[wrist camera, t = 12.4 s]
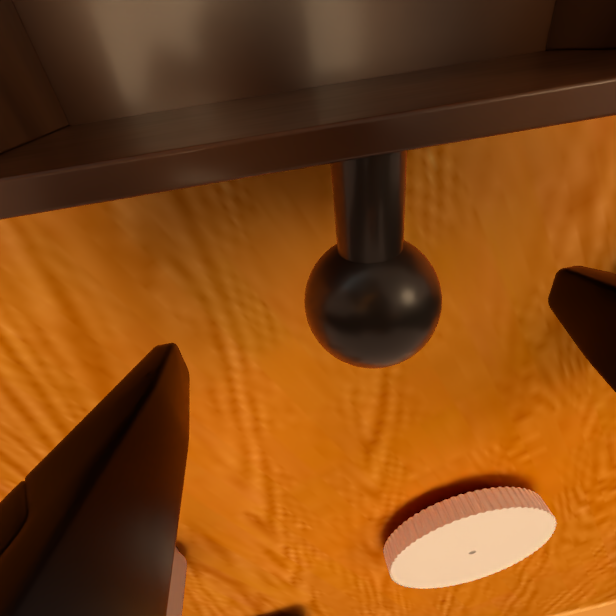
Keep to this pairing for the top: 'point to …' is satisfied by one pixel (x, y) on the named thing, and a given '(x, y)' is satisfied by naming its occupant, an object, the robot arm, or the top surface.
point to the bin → (291, 116)
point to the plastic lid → (468, 537)
